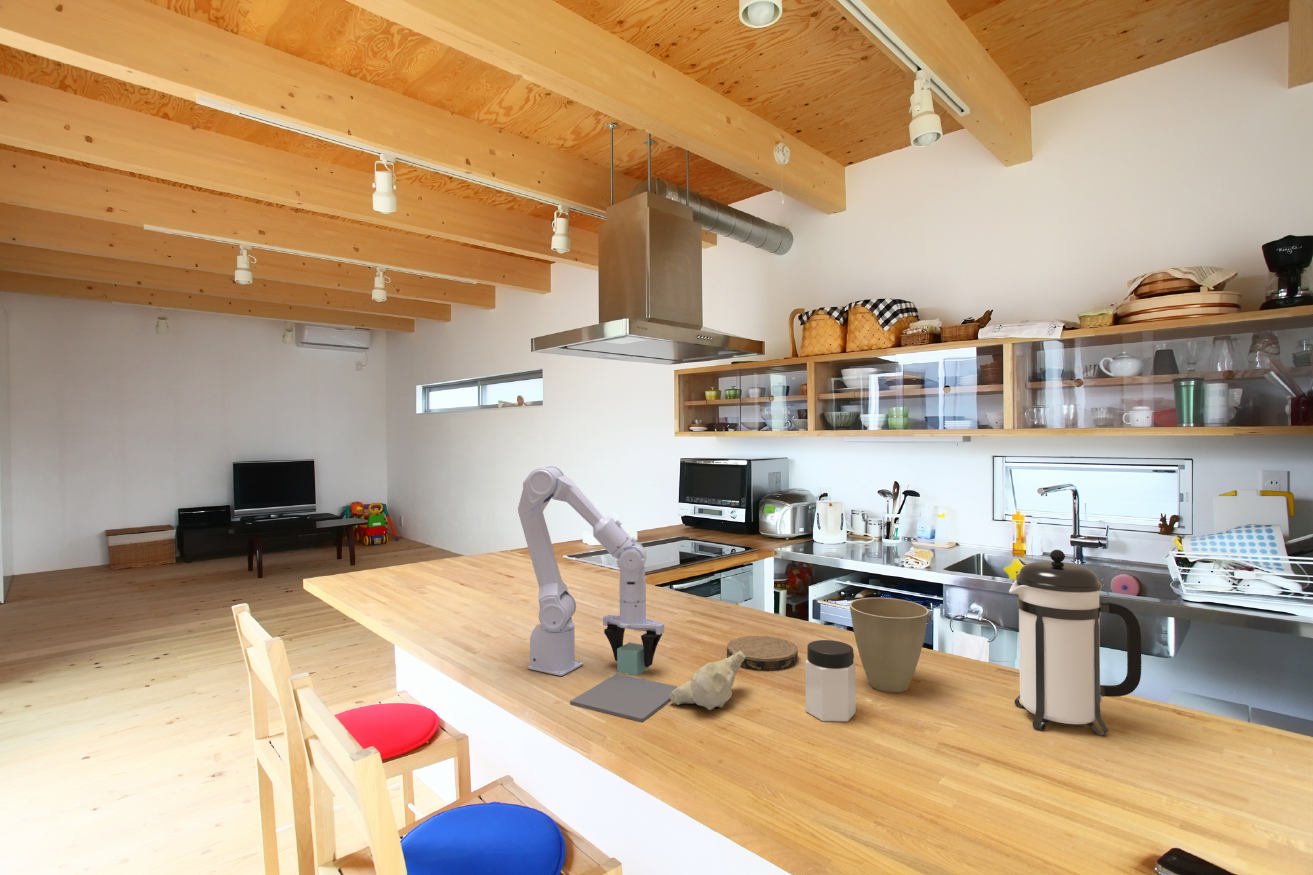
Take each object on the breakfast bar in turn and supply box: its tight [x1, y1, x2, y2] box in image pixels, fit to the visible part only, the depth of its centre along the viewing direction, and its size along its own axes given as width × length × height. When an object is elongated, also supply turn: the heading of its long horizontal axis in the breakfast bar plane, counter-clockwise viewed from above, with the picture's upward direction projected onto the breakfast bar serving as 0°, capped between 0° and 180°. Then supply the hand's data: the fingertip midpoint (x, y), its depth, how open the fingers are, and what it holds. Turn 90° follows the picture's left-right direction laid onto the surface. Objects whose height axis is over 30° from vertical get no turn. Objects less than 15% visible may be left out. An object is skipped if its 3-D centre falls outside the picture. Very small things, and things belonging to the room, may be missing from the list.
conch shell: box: [669, 651, 746, 711], centre depth 121 cm, size 15×7×15 cm
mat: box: [569, 673, 679, 723], centre depth 124 cm, size 16×16×1 cm
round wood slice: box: [726, 635, 799, 672], centre depth 145 cm, size 16×16×3 cm
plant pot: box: [849, 597, 930, 694], centre depth 129 cm, size 15×15×16 cm
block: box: [616, 641, 650, 677], centre depth 139 cm, size 5×5×5 cm
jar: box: [804, 639, 857, 723], centre depth 116 cm, size 9×8×12 cm
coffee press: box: [1008, 549, 1142, 737], centre depth 113 cm, size 17×16×30 cm
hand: (633, 662), depth 139 cm, fingers open, 7 cm apart
